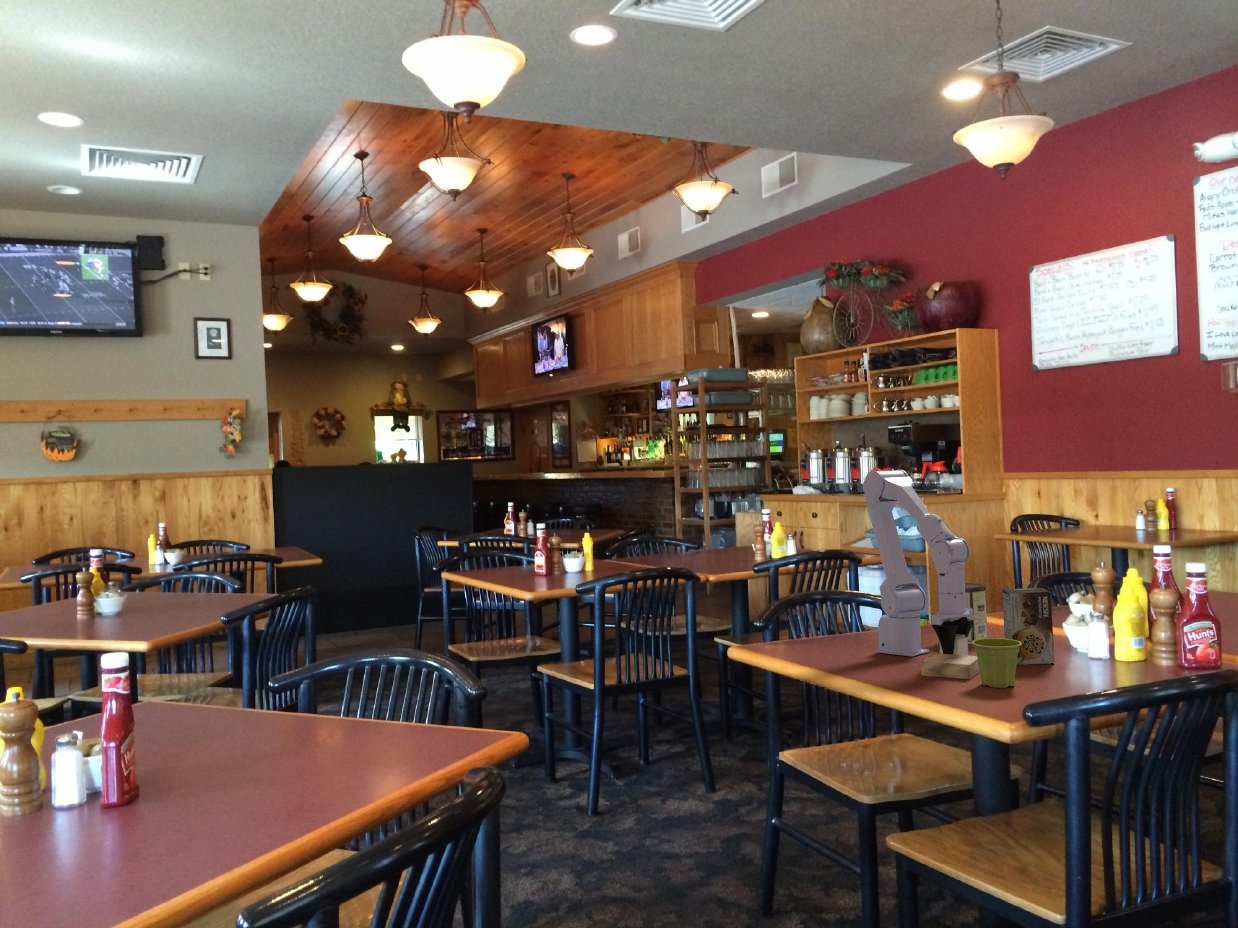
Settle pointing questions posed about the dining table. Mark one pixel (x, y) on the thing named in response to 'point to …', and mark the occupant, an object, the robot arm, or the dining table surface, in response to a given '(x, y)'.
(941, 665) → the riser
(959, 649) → the white rectangular block
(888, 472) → the robot arm
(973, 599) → the coffee can
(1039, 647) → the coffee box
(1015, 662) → the plant pot
